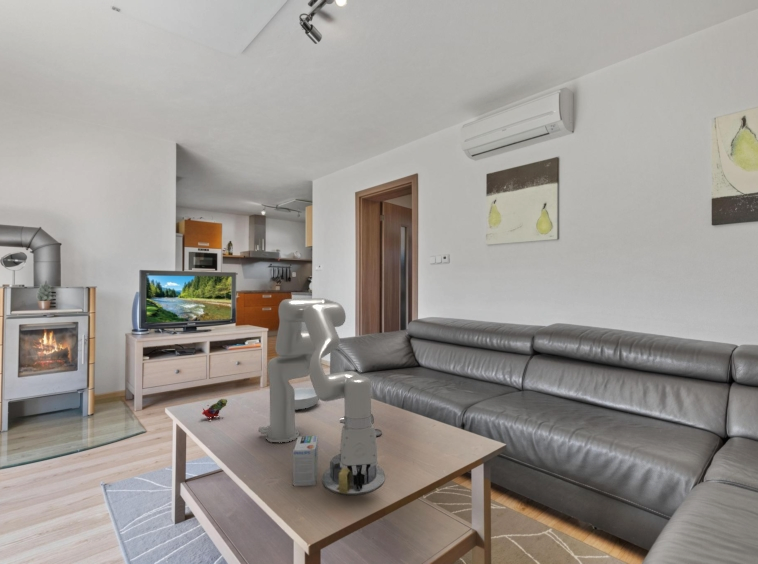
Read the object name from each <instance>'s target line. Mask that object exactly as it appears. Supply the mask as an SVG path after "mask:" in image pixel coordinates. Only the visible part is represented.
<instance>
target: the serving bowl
mask: <svg viewBox="0 0 758 564" xmlns="http://www.w3.org/2000/svg"><path fill="white" fill-rule="evenodd" d="M293 388H294V387H293ZM294 391H295V411H299V410H298V409H302V410H305V408H306V409H308V408H311V407H313V406H315V405H317V403H318V402H319V401H320V399H319V398H318V396H317V395H316V393H315V390H314V388H313V387H296V388H294Z"/></svg>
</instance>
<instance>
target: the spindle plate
mask: <svg viewBox="0 0 758 564" xmlns="http://www.w3.org/2000/svg"><path fill="white" fill-rule="evenodd" d="M356 468H358V465H356ZM385 473H386V472H385V471H384V469H383V468H381V467H380V466H379V465H377V475H376V478H375V479H374V480H372V481H371V482H369V483H367V484H364V485H362V489H360V487H359V489H357V488H356V485H355V486H351V488H350V490H349V491H348V493H339V484H338V483H335V482H334V481H333V480H332V479H331V477H330V467H328V468H327V469H326V470H325V471H324V472H323V474H322V481H321V482H322V485H323V487H325V488H326V490H328V491H330V492H332V493H334V494H337V495H341V496H359V495H364V494H366V495H367V494H369V493H372V492H374V491H376V490H378V489H379V488H380V487H382V486H383V484H384V483H385V479H386V475H385Z"/></svg>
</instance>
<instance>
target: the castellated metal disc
mask: <svg viewBox="0 0 758 564" xmlns="http://www.w3.org/2000/svg"><path fill="white" fill-rule="evenodd" d="M340 460H341V453H340V452H339V454H336V455H335V456H333V457H332V458H331V460H330V462H329V468H330V477H331V479H332V480H333V481H334V482H335V483H338V484H339V493H348V491H349V490H350V488H351V486H355V485H354V475H353V473H352V472H351V471H350V470H349V469H348V468H341V467H340ZM377 466H378V464H377V465H374V466H370V467H369V469H368V470H367V471H366V473H365V474H364V484H367V483H369V482H371V481H372V480H374V479H375V478H376V475H377ZM360 467H361V465H358V468H357V469H358V472H359V470H360ZM364 484H362V485H364Z"/></svg>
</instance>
